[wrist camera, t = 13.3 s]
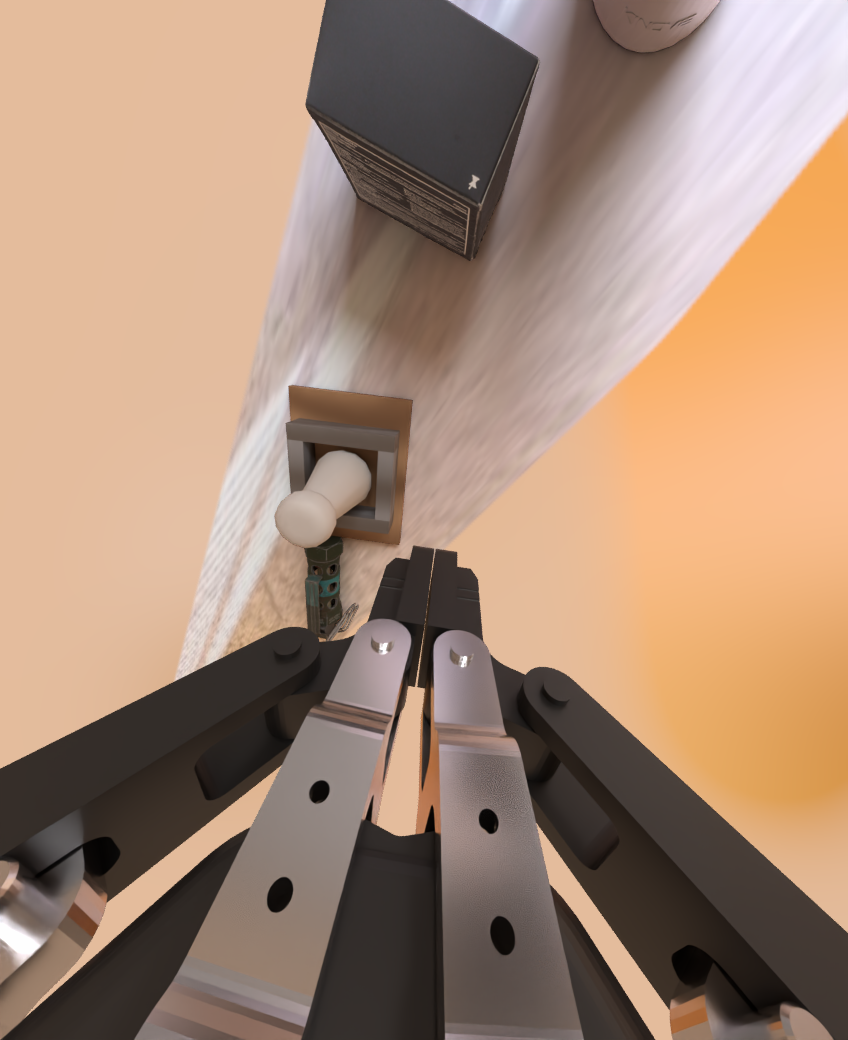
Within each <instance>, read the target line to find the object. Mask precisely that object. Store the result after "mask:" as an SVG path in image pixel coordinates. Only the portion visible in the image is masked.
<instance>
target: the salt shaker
mask: <svg viewBox="0 0 848 1040" xmlns="http://www.w3.org/2000/svg"><path fill="white" fill-rule="evenodd" d="M370 489H371V473H370V470H369V468H368V466H367V464H366V462H364V461H363V460H362V459H361V458H360V457H359V456H358V455H356V454H355V453H351V452H348V451H345V450H339V451H332V452H328V453H327V454H325V455H324V456H323V457H322V458H320V459H319V460H318V462H317V464H316V466H315V468H314V470H313V472H312V474H311V476H310V478H309V480H308V482H307V484H306V485H305V487H304V489H303V491H296V492H293V493H292V494H290V495H289V496H288V497H286V498H285V499H284V500H282V501H281V503H280V504H279V506H278V508H277V511H276V513H275V522H276V527H277V529H278V530H279V532H280V533H281V535H282V537H283V538H285V539H286V540H288V541H289V542H290V543H292V544H293V545H296V546H300V547H303V548H310V547H317V546H318V545H320V544H322V543H323V542H325V541H326V540H327V539H329V538H330V536H331V534H332V532H333V530H334V528H335V526H336V519H338V518H339V517H340V516H342V515H343V514H345V513H346V512H347V511H349V510H350V509H352V508H353V507H354V506H356V505H357V504H358V503H360V502H361V501H363V500H364V499H365V498H366V496H367V494H368V492H369V491H370Z"/></svg>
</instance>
